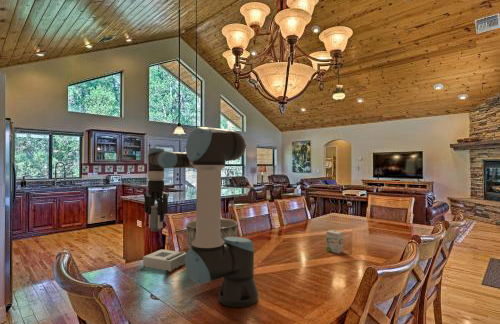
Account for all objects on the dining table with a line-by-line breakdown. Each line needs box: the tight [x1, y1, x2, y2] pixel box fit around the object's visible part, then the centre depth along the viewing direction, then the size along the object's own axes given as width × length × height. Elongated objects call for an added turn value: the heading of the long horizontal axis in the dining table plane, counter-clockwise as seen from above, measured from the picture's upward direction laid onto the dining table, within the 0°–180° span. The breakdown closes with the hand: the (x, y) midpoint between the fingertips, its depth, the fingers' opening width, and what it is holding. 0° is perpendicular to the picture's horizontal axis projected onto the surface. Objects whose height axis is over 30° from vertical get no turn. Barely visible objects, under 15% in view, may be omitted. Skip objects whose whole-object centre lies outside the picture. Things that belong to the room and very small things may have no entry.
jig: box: [142, 249, 186, 272], centre depth 148 cm, size 14×17×6 cm
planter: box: [185, 218, 239, 251], centre depth 145 cm, size 26×26×22 cm
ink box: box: [325, 229, 344, 254], centre depth 171 cm, size 8×5×12 cm, turn 44°
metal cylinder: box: [150, 204, 162, 232], centre depth 139 cm, size 5×5×12 cm
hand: (155, 227), depth 139 cm, fingers closed on metal cylinder, 4 cm apart
